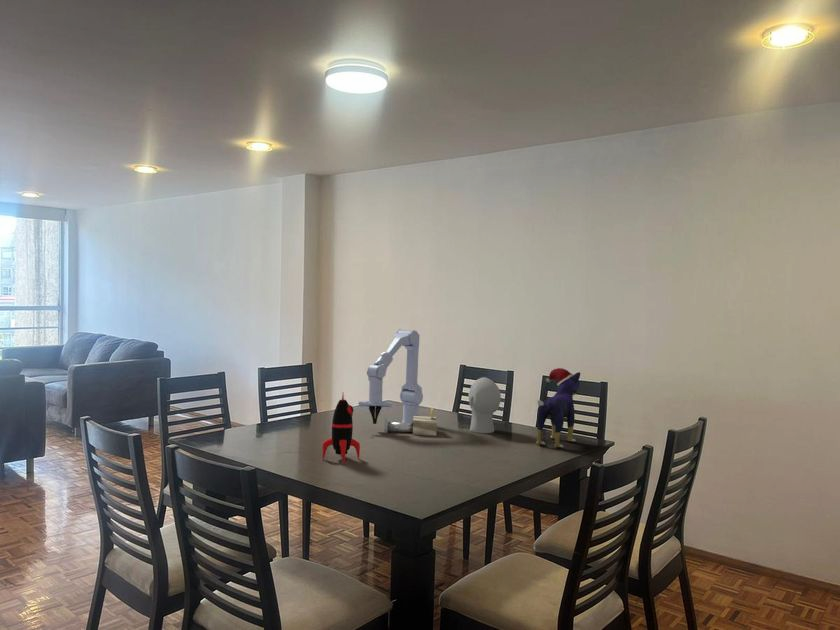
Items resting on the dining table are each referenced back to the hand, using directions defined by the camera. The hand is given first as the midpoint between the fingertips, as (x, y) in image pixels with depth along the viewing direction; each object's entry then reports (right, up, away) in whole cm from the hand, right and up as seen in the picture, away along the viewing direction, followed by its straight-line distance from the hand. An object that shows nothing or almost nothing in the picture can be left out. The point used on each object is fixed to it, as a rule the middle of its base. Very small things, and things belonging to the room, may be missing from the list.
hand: (374, 423), depth 271 cm
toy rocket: (-9, -5, -48) cm, 49 cm away
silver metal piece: (+11, -4, 0) cm, 12 cm away
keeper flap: (+25, +3, 0) cm, 25 cm away
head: (+47, -5, +8) cm, 48 cm away
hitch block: (+22, -4, 0) cm, 22 cm away
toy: (+74, -6, -11) cm, 75 cm away
